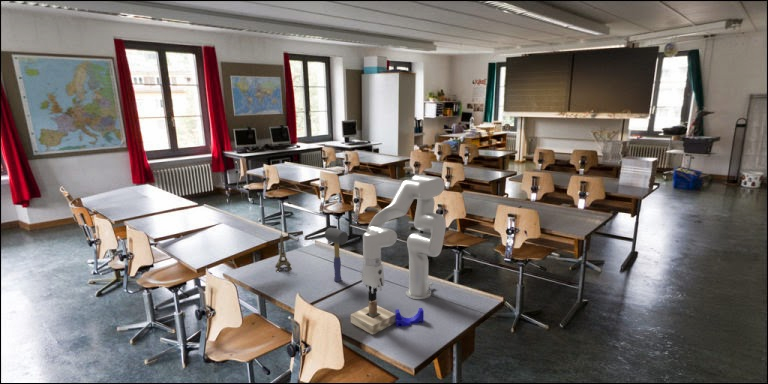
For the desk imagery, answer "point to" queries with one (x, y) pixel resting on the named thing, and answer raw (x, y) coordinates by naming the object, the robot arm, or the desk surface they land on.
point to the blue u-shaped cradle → (408, 321)
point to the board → (373, 320)
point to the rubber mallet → (336, 248)
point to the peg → (373, 309)
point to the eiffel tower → (282, 261)
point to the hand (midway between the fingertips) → (372, 300)
